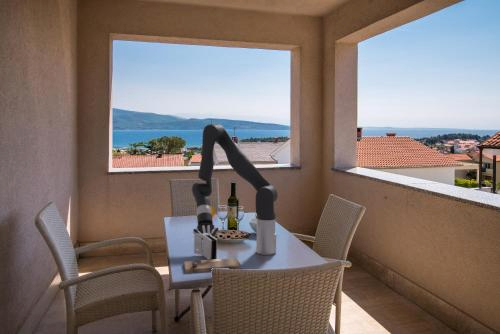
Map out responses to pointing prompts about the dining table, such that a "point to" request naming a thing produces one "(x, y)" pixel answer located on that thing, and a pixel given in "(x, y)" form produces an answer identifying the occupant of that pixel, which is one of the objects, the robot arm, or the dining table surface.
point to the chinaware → (253, 224)
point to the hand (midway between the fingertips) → (207, 246)
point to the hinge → (205, 245)
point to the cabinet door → (211, 265)
